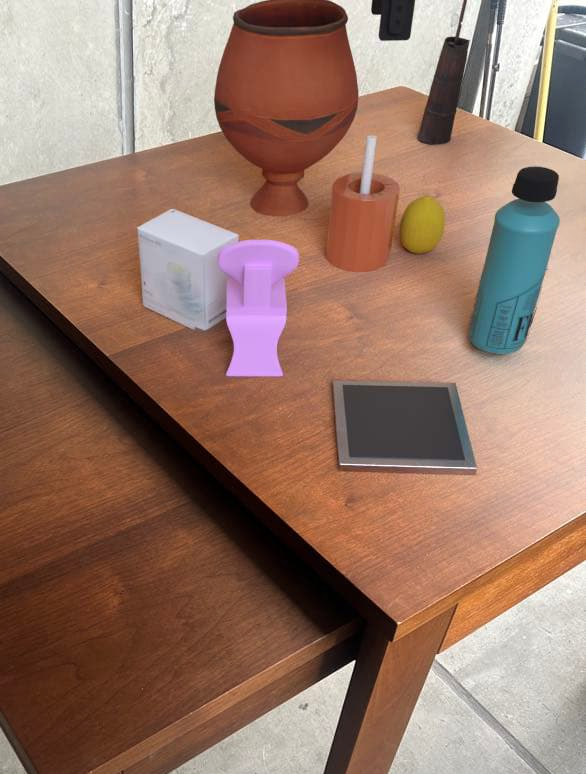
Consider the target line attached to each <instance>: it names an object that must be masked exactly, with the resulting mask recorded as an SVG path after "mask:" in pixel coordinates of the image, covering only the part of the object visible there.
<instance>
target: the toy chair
mask: <svg viewBox="0 0 586 774" xmlns="http://www.w3.org/2000/svg"><path fill="white" fill-rule="evenodd" d="M299 262H300V253H299V251H298V249H297V248H296V247H294V246H293V245H291V244H288V243H286V242H282V241H279V240H273V239H246V240H239V242H236V243H233V244H230V245H228V246H226V247H224V248H223V249H221V250H220V252H219V253H218V265H219V268H220V269H221V271H222V272H224V273H225V274H227V275H229V276H230V277H231V278H233V279H227V307H226V318H225V321H226V326H227V328H228V331H229V332H230V335H231V339H232V342H233V352H232V357H231V360H230V363H229V365H228V368H227V370H226V371H225V372H226V373H225V376H226V377H284V373H283V372H284V371H283V370H282V367H281V364H280V361H279V357H278V343H279V340H280V337H281V336H282V332H283V330H284V329H285V326H286V324H287V311H288V305H287V304H288V303H287V294H286V279H285V277H287V276H288V275H290V274H292V273H293V272H294V271H296V269H297V267H298V266H299Z"/></svg>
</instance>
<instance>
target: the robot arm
mask: <svg viewBox="0 0 586 774" xmlns="http://www.w3.org/2000/svg"><path fill="white" fill-rule="evenodd" d="M415 4H416V0H371V7H370V12H371V14H372V15H373V16H380V19H379V29H378V39H379V40H380V41H381V42H388V41H389V42H390V41H391V42H393V41H395V42H396V41H398V42H399V41H408V40H410V39H411V34H412V27H413V20H414V12H415V6H416V5H415Z"/></svg>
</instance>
